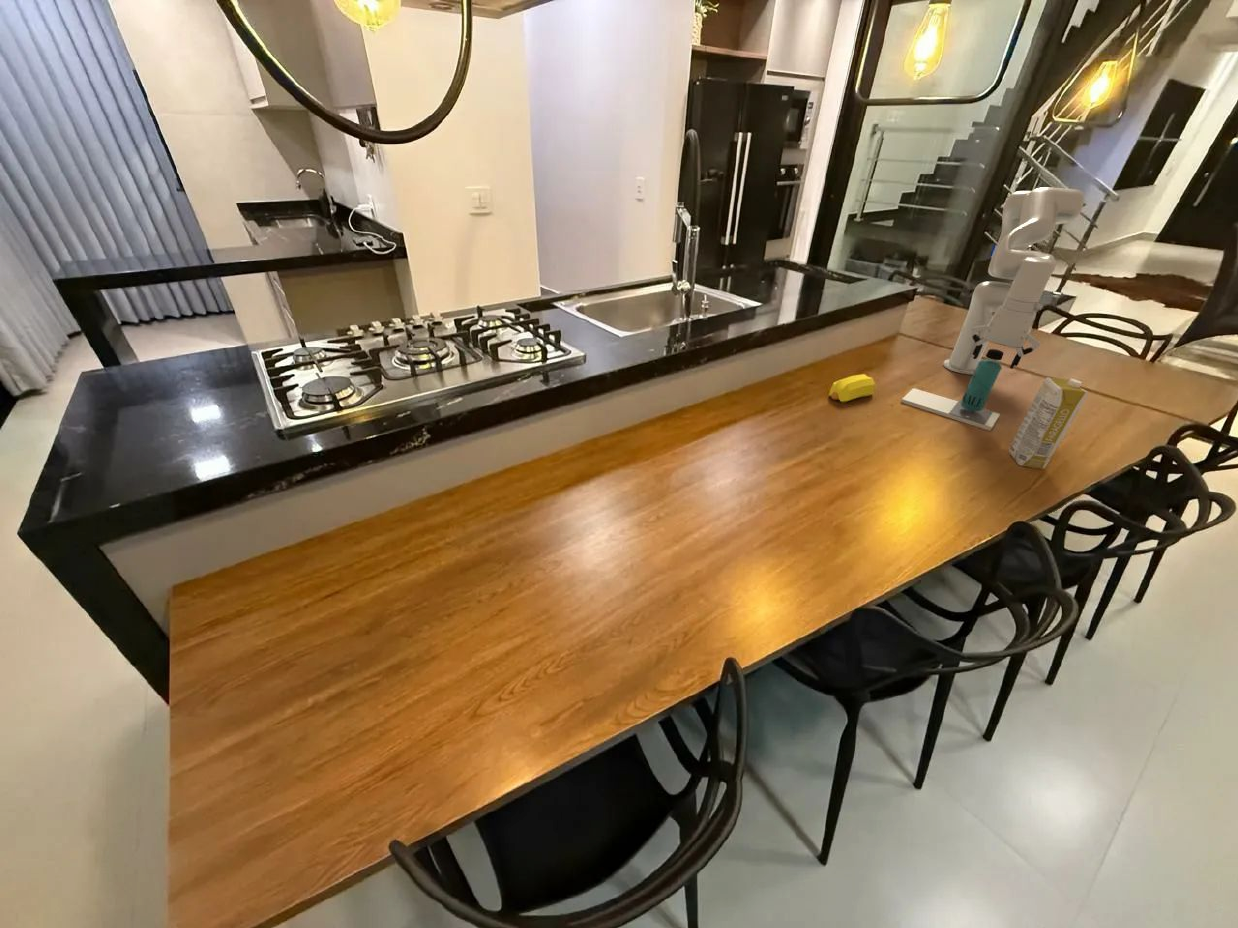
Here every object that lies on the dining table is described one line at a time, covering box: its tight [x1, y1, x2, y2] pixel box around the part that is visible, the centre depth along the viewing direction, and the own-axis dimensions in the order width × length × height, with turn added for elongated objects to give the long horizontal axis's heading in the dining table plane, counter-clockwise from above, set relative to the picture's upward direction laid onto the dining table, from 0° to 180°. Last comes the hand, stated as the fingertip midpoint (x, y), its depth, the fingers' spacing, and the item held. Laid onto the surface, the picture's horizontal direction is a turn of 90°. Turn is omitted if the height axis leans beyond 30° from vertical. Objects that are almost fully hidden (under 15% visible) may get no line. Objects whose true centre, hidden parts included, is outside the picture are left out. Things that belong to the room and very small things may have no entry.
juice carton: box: [1008, 376, 1089, 469], centre depth 141 cm, size 9×8×24 cm
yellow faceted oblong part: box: [828, 373, 876, 403], centre depth 176 cm, size 18×7×8 cm
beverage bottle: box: [960, 348, 1005, 411], centre depth 163 cm, size 6×7×20 cm
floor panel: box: [900, 387, 1001, 431], centre depth 172 cm, size 12×26×2 cm, turn 49°
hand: (993, 362), depth 160 cm, fingers open, 9 cm apart
